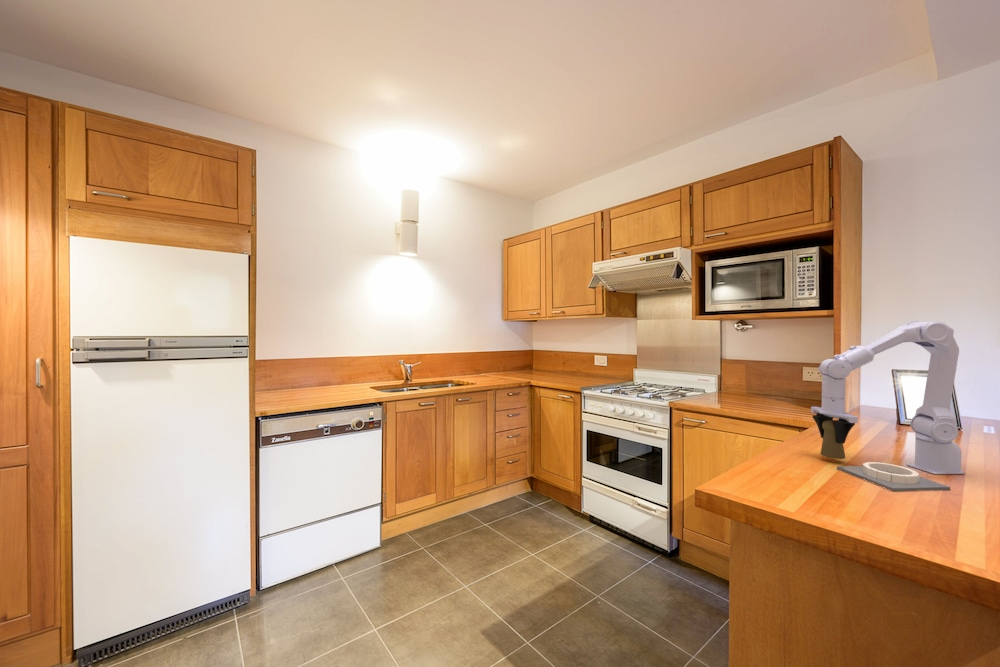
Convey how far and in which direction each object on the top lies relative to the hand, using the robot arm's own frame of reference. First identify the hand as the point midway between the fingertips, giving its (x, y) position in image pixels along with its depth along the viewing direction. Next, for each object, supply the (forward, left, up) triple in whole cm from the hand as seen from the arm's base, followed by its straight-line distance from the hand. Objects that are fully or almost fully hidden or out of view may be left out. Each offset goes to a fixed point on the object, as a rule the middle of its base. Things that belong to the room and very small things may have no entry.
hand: (832, 440), depth 127 cm
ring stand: (-3, +15, -6) cm, 17 cm away
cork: (0, 0, -5) cm, 5 cm away
